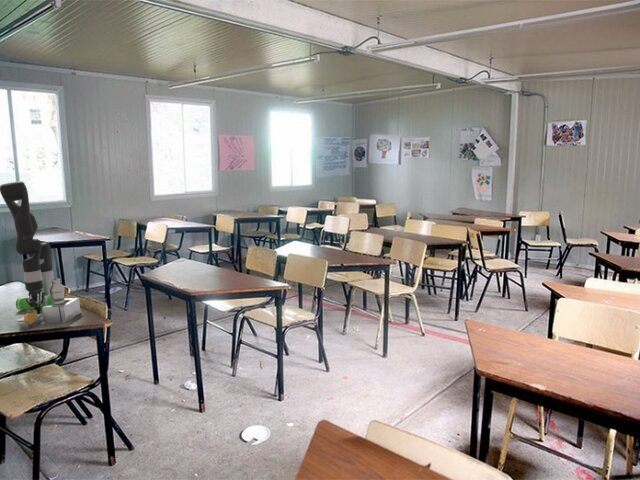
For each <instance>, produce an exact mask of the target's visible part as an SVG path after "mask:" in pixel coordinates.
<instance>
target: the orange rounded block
mask: <svg viewBox="0 0 640 480" xmlns="http://www.w3.org/2000/svg"><path fill="white" fill-rule="evenodd" d="M22 317H24V321H23V323H26V322H29V325H30V324H31V323H33V322H35V321H36V320H38V317H37V310H27V311H26V313H24V314H23V316H22Z"/></svg>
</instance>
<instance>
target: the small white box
mask: <svg viewBox="0 0 640 480" xmlns="http://www.w3.org/2000/svg"><path fill="white" fill-rule="evenodd" d="M64 300H65V304H64V305H51V306H44V307H42V310H41V312H42V313H43V314H42V313H40V314H41V315H39V316H37V317H38V320H36V321H35V322H33V323H31V324H30V325H29V322H26V323H25V322H18V323H19V324H18V325H19V330H29V329H32V328H33V327H35V326H36V325H38V324H40V323H42V322H44V323H43V324H60V323H61V324H64V323H65V324H66V323H68V322H69V321H71V320H72V319H74V318H75V317H77V316H79V315H80V314H81V313H82V311H81V304H80V298H79V297H75V298H74V297H70V298H69V297H68V298H67V297H64ZM70 319H71V320H70ZM67 321H68V322H67Z"/></svg>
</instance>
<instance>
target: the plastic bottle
mask: <svg viewBox="0 0 640 480" xmlns="http://www.w3.org/2000/svg"><path fill="white" fill-rule="evenodd" d="M51 283H52V286H51V287H50V295H51V298H52V304H53V305H64V304H65V300H64V298H65V287H64V285H63V284H62V283H61V280H60V278H59V277H58V278H54V279H52V280H51Z"/></svg>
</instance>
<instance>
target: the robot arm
mask: <svg viewBox="0 0 640 480" xmlns="http://www.w3.org/2000/svg"><path fill="white" fill-rule="evenodd" d="M0 195H1V197H2V199H3V201H4V203H5V204H6V207H7V208H8V210H9V212H10V214H11V215H12V218H13V222H14V227H15V231H16V244H15V251H16V253H18V254H19V255H28V257H29V258H25V259H24V260H22V268H23V278H24V279H23V280H24V286H25V291H27V292H28V296H29V298H28V299H26V301H27V303H28V304H29V305H30V306H31V307H34V309H35V310H37V314H42V310H41V307H40V306H41V304H43V301H44V297H45V296H46V295H50V287H51V286H52V283H51V280H52V279H55V277H54V269H53V255H52V246H51V245H50V243H49V242H45V241H44V242H41V241H40V239H38V238H34V237H35V234H36V233H37V231H38V228H39V227H38V225H39V224H38V222H37V220H36V218H35V216H34V214H33V213H32V212H31V211H30V199H29V192H28V188H27V186H26V184H25V182H24V181H21V180H19V181H12V182H6V183H3V184H0ZM17 201H21V202H20V205H18V203H16V202H17ZM41 260H43V261H42V262H41V263H40V261H41ZM50 296H51V295H50Z"/></svg>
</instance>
